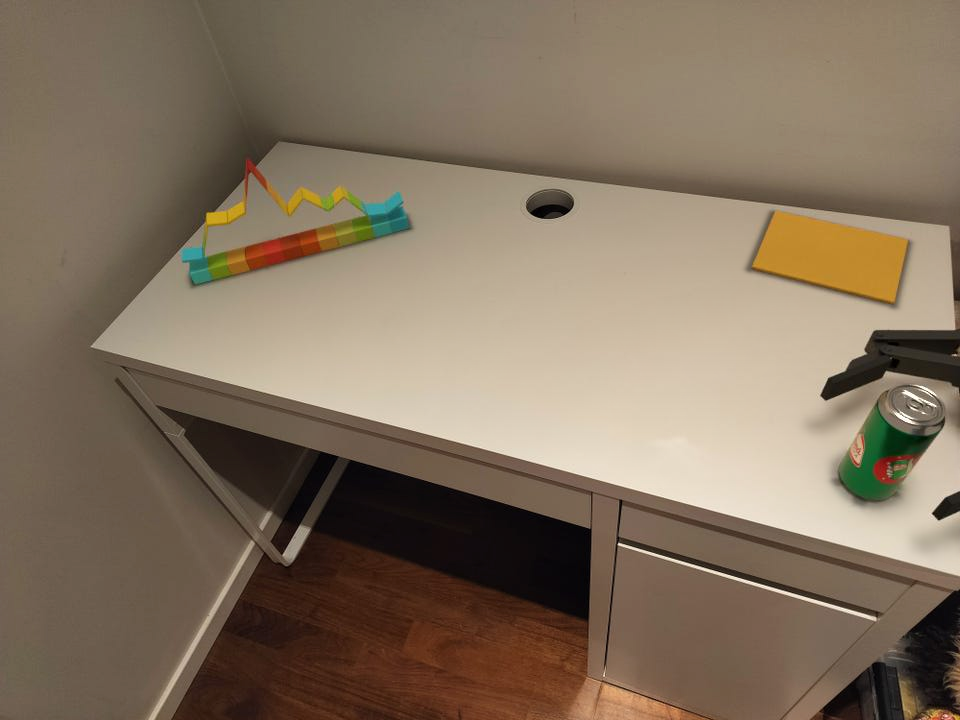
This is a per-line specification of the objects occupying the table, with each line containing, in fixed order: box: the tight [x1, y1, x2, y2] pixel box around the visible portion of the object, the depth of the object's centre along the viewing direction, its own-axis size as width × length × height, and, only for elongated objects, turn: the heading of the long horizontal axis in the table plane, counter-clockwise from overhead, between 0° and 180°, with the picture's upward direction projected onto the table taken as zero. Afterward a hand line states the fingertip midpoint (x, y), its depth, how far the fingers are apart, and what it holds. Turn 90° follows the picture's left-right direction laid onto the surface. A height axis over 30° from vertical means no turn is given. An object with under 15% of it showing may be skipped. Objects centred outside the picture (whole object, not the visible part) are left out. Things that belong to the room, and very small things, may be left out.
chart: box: [181, 157, 410, 286], centre depth 89 cm, size 30×3×15 cm, turn 107°
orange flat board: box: [751, 210, 909, 305], centre depth 84 cm, size 16×12×1 cm
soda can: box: [838, 383, 946, 501], centre depth 59 cm, size 5×5×12 cm
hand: (879, 445), depth 59 cm, fingers open, 13 cm apart
